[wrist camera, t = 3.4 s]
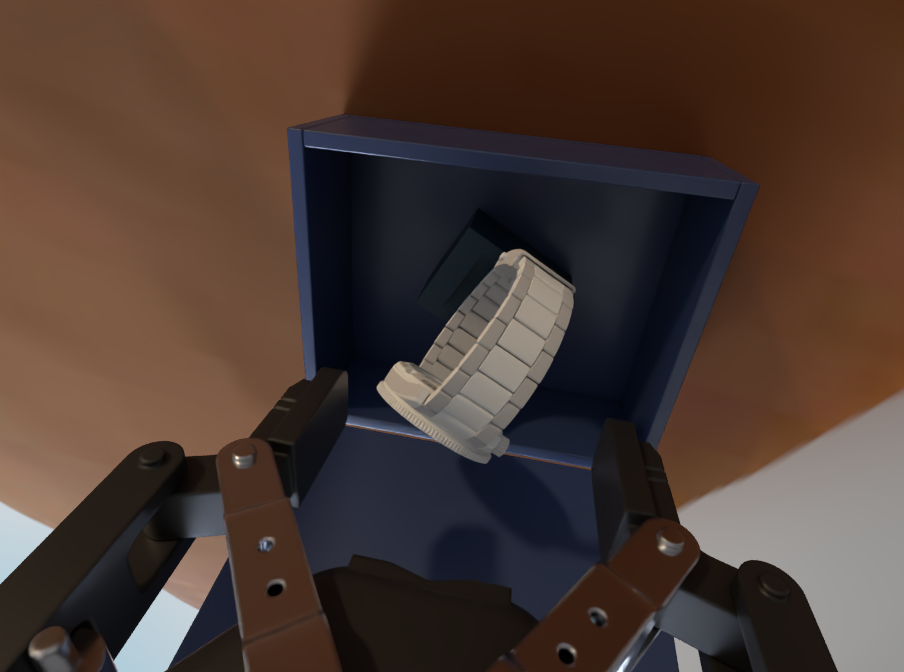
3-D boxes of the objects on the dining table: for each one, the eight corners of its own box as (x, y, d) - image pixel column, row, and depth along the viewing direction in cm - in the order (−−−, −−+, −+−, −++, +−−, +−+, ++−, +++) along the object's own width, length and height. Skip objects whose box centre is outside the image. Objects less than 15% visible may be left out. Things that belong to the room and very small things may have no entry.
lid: (83, 820, 13) (143, 840, 16) (731, 1000, 11) (665, 985, 14) (303, 417, 23) (314, 473, 26) (649, 480, 22) (621, 532, 25)
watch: (409, 304, 26) (331, 444, 16) (501, 175, 22) (468, 261, 12) (495, 362, 27) (468, 528, 17) (598, 248, 23) (636, 381, 13)
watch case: (342, 113, 22) (286, 127, 17) (710, 156, 21) (761, 184, 16) (347, 358, 29) (307, 417, 24) (627, 404, 27) (645, 478, 22)
